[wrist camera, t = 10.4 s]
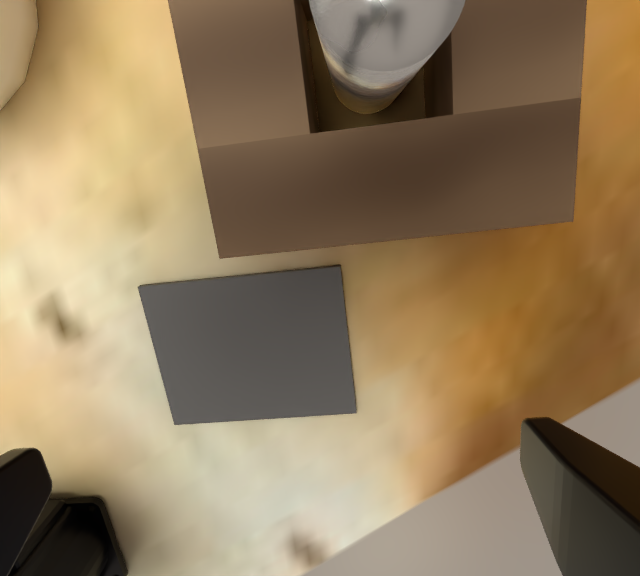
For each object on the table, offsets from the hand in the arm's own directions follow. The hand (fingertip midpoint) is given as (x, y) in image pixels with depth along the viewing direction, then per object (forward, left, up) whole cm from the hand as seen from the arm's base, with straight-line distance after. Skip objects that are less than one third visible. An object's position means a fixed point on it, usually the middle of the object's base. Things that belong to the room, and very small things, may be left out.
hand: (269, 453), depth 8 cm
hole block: (+8, -3, -13) cm, 16 cm away
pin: (+8, -3, -13) cm, 16 cm away
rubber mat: (-4, +4, -13) cm, 14 cm away
